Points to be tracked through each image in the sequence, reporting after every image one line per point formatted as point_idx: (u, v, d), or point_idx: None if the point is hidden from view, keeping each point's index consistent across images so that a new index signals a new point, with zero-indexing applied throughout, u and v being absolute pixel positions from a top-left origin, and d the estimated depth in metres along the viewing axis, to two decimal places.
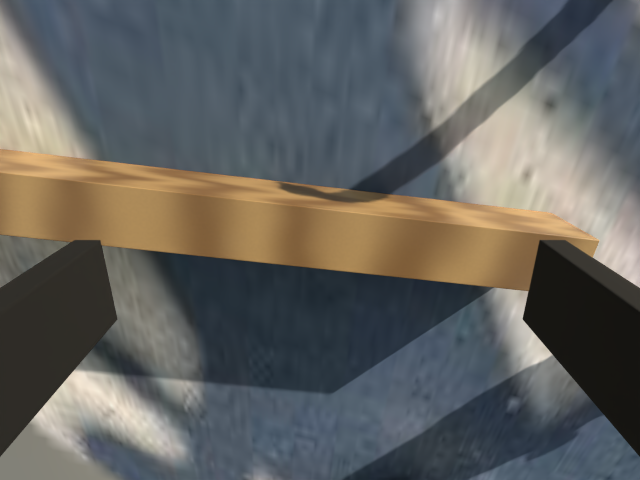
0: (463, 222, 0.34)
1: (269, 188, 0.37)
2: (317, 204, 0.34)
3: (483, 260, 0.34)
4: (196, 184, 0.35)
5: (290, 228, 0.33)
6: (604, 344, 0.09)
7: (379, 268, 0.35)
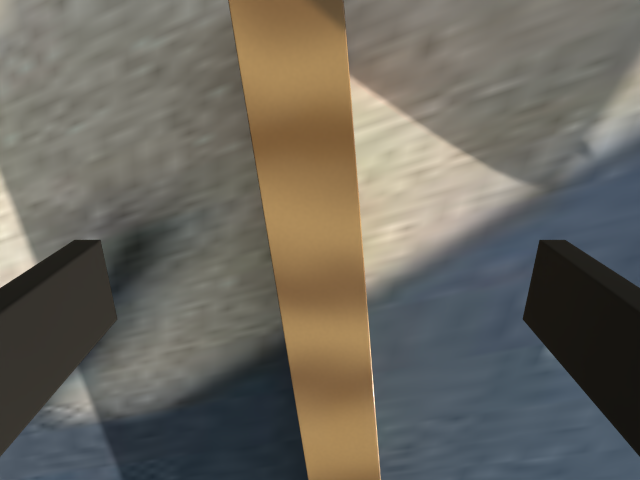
0: None
1: None
2: None
3: None
4: None
5: None
6: (604, 344, 0.09)
7: None
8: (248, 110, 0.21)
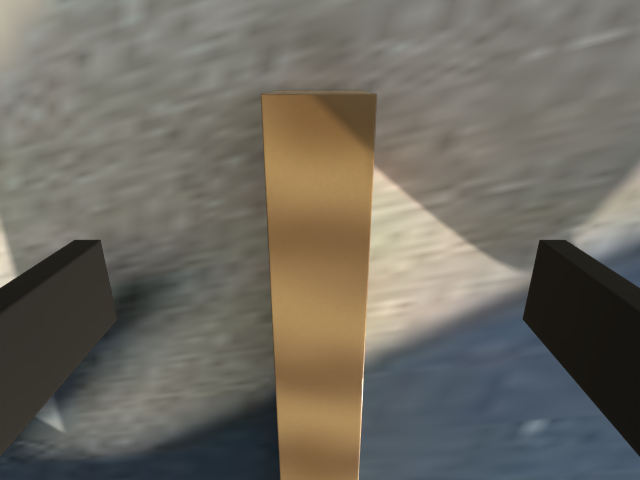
0: None
1: None
2: None
3: None
4: None
5: None
6: (604, 344, 0.09)
7: None
8: (268, 209, 0.21)
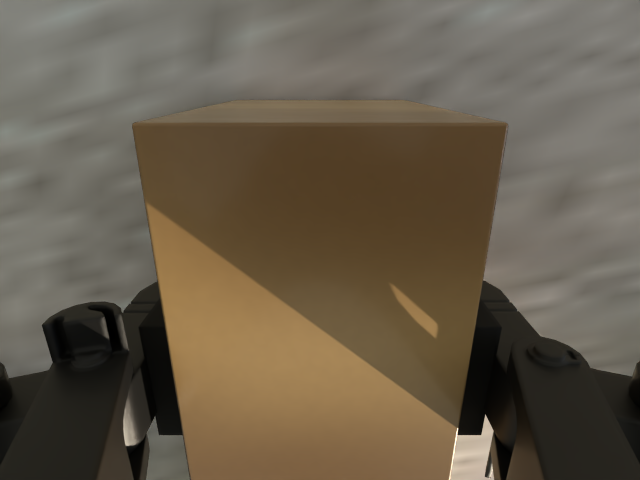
0: None
1: None
2: None
3: None
4: None
5: None
6: None
7: None
8: (184, 423, 0.08)
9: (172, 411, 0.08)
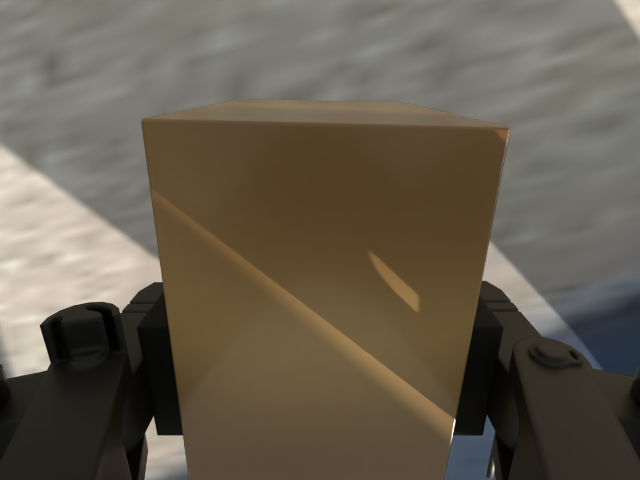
0: None
1: None
2: None
3: None
4: None
5: None
6: None
7: None
8: (184, 417, 0.08)
9: (170, 411, 0.08)
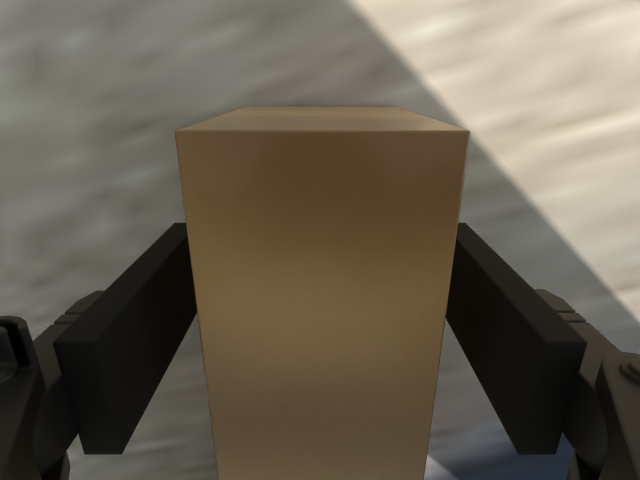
0: None
1: None
2: None
3: None
4: None
5: None
6: (474, 309, 0.11)
7: None
8: (209, 377, 0.09)
9: (96, 430, 0.08)
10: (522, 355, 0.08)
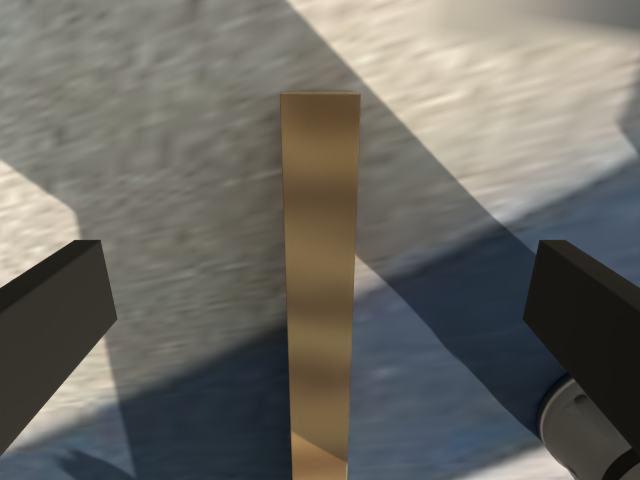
0: None
1: None
2: None
3: None
4: None
5: None
6: (604, 344, 0.09)
7: None
8: (284, 176, 0.29)
9: None
10: None
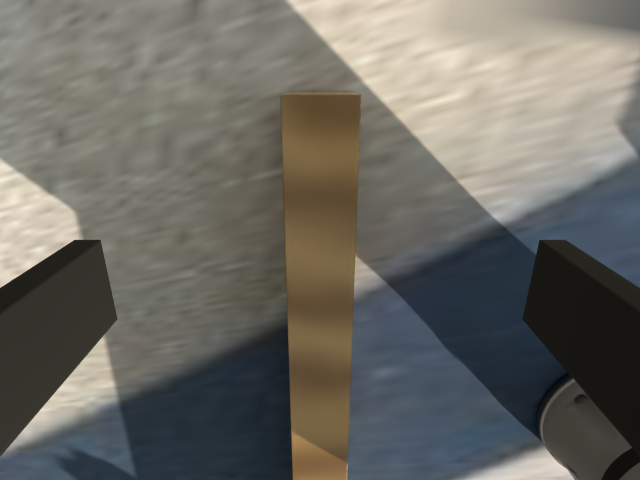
0: None
1: None
2: None
3: None
4: None
5: None
6: (604, 344, 0.09)
7: None
8: (284, 176, 0.29)
9: None
10: None
